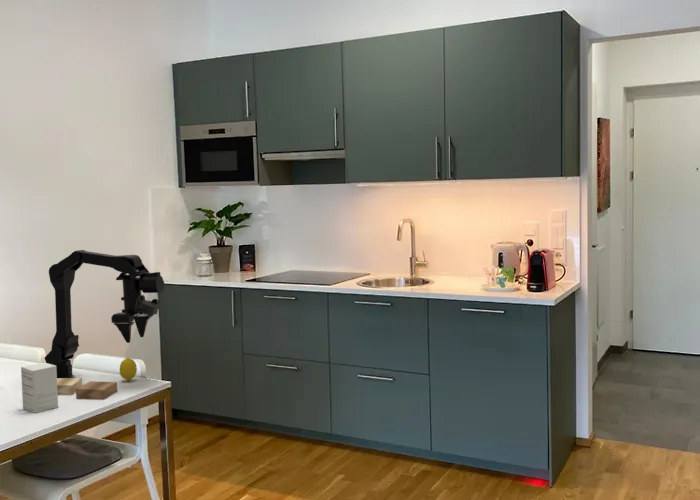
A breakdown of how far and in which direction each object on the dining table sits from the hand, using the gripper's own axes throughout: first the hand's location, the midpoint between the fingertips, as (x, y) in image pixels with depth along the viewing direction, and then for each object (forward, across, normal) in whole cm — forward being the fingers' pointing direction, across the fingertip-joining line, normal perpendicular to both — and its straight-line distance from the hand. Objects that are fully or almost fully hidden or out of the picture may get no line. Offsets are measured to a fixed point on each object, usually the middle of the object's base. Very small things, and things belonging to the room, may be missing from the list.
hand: (135, 339), depth 237 cm
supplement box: (+14, -31, +15) cm, 37 cm away
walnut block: (+14, -16, +6) cm, 22 cm away
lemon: (+14, +2, +4) cm, 15 cm away
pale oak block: (+14, -13, +19) cm, 27 cm away
